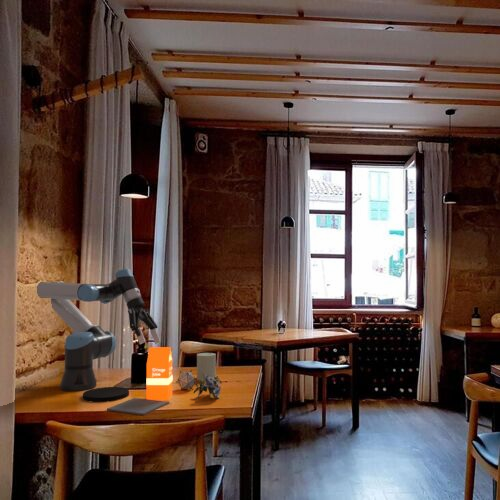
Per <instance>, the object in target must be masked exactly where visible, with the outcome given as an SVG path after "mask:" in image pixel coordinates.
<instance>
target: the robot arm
mask: <svg viewBox="0 0 500 500" xmlns="http://www.w3.org/2000/svg"><path fill="white" fill-rule="evenodd" d="M114 275H115V279H114V280H113V281H111V282H109V283H103V284H101V283H100V284H99V283H98V284H96V283H95V284H94V283H93V284H92V283H74V282H64V281H63V280H62V281H60V283H59V282H40V283H39V284H38V286H37V294H38V296H39V297H40V298H51V304H52V308H53V309H52V308H51V309H52V310H53V311H54V312H55V313H56V315H58V316H59V317H60V318H61V320H62V321H64V323H65V324H66V325H67V326H68V328H70V329H71V330H72V332H73V333H71V334H69V335H67V336H66V337H65V342H64V371H63V375H62V378H61V381H60V383H59V389H60V390H61V391H64V390H65V391H66V392H76V391H77V392H78V391H85V390H86V391H87V390H91V389H95V388H97V380H98V379H97V378H96V374H95V370H94V369H93V368H94V363H93V362H94V360H97V359H101V358H107V357H108V356H110V355H112V354H113V353H114V351H115V350H116V347H117V339H116V337H115V335H114V334H113V332H111V331H109V330H108V331H104V330H103V328H102V327H101V325H99V324H93V323H92V322H91V321H90V320H89V318H88V317H87V316H86V315H85V314H84V313H83V312H82V311H81V310H80V309H79V308H78V307H77V306H76V305H75V304H74V302H72V301H83V302H86V303H87V302H88V303H91V302H100V303H102V304H104V305H106V304H109V303H111V302H113V301H114V300H115V299H117V298H119V297H120V296H121V295H122V296H123V299H124V302H125V303H126V307H127V313H128V317H129V318H128V319H129V322H128V323H129V329H130V330H131V332H134V334H135V335H136V338H137V340H138V344H139V345H142V344H144V343H146V342H147V341H146V339H145V336H144V333H143V331H142V329H141V327H140V321H141V322H143V324H145V326H147V328H148V329H149V331H150V335H151V337H152V339H153V342H154V344H155V345H157V344H159V343H161V339H160V336H159V334H158V331H157V329H158V325H157V323H156V322H155V320H154V318H153V317H152V315H151V314H150V312H149V310H148V309H144V307H145V301H144V300H143V298H142V295H141V291H140V289H139V287H138V285H137V281H136V280H135V276H134V275H133V272H132V270H131V269H130V268H122V269H120V270H117V272H115V274H114Z"/></svg>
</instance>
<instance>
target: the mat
mask: <svg viewBox="0 0 500 500" xmlns="http://www.w3.org/2000/svg"><path fill="white" fill-rule="evenodd" d="M169 404H170V401H158V400H149V399H146V398H141V397H139V398H138V397H133V398H131V399H128V400H126V401H123V402H120V403H118V404H116V405H112V406H110V407H108V408H107V409H106V410H107V411H109V412H116V413H124V414H125V413H126V414H132V415H141V416H145V415H148V414H150V413H152V412H154V411H157V410H158V409H161V408H163V407H164V406H167V405H169Z"/></svg>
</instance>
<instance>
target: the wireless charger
mask: <svg viewBox="0 0 500 500" xmlns="http://www.w3.org/2000/svg"><path fill="white" fill-rule="evenodd" d="M129 395H130V390H129V388H127V387H121V386H106V387H105V386H102V387H95V388H91V389H87V390H86V391H84V392H83V393H82V400H83V401H86V402H89V401H92V402H91V403H108V402H107V401H109V402H114V401H115V402H116V401H119V400H123V399H126V398H128V397H129Z"/></svg>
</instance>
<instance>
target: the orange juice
mask: <svg viewBox="0 0 500 500" xmlns="http://www.w3.org/2000/svg"><path fill="white" fill-rule="evenodd" d="M171 349H172V348H171V346H169V347H168V346H164V347H163V346H162V347H161V346H160V347H159V346H154V347H153V346H151V347H150V346H149V348H148V354H147V361H146V382H145V383H146V386H145V387H146V395H145V396H146V398H145V399H149V400H158V401H167V402H170V400H171V398H172V397H173V355H172V354H173V353H172V350H171Z"/></svg>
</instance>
